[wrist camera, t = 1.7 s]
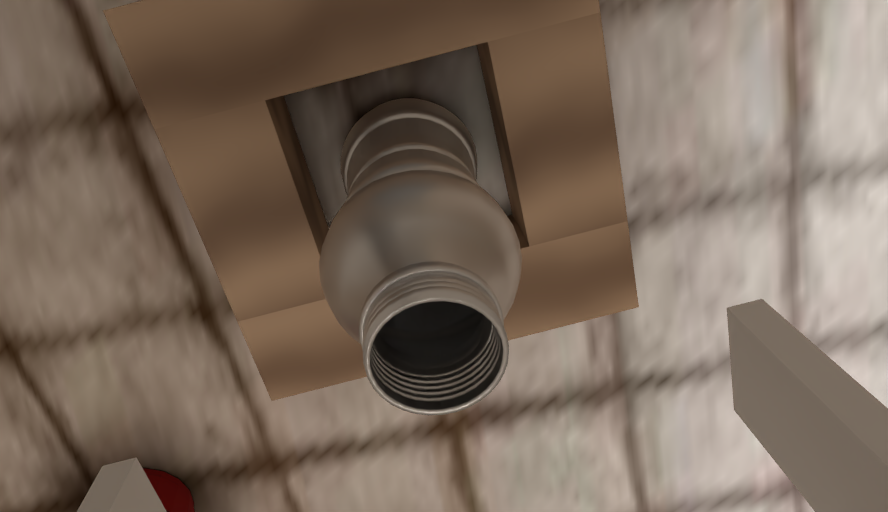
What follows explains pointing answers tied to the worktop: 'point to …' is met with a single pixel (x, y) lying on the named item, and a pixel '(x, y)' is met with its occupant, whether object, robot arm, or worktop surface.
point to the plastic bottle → (421, 260)
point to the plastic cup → (170, 491)
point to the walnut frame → (289, 181)
